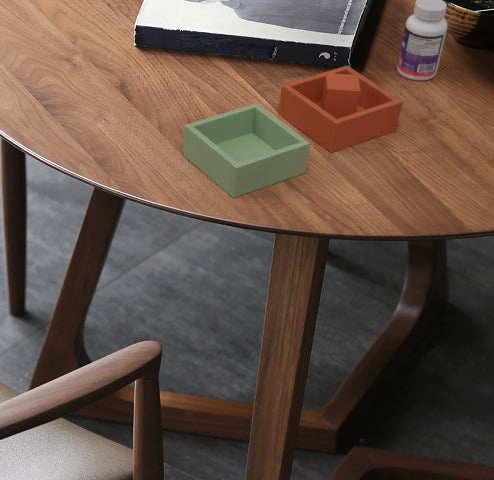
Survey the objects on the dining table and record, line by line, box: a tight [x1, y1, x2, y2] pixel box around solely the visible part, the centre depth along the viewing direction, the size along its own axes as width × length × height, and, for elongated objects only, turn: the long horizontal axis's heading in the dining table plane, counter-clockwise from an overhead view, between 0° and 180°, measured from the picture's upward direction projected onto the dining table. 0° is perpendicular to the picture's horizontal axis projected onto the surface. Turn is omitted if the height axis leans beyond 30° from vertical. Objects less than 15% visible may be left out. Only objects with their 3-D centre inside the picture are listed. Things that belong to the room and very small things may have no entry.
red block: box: [321, 73, 360, 119], centre depth 134 cm, size 4×4×5 cm
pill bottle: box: [396, 0, 448, 82], centre depth 143 cm, size 5×5×10 cm
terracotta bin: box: [277, 65, 403, 154], centre depth 135 cm, size 11×11×4 cm
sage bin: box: [182, 102, 311, 199], centre depth 128 cm, size 11×11×4 cm
